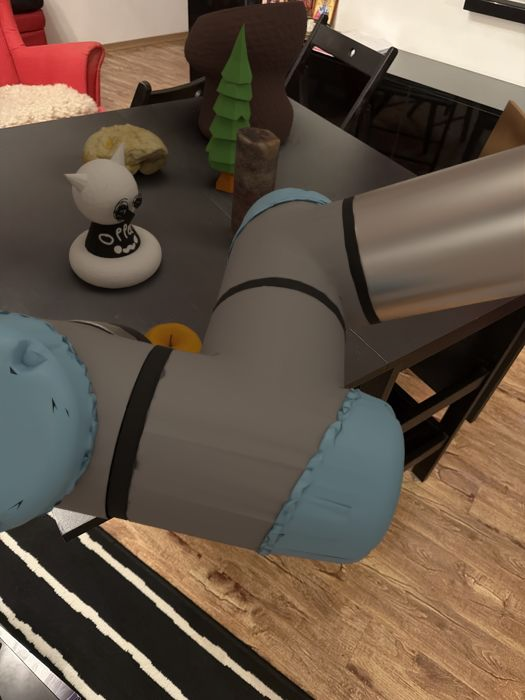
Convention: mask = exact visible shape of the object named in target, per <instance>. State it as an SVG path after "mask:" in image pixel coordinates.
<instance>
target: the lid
mask: <svg viewBox="0 0 525 700" xmlns="http://www.w3.org/2000/svg"><path fill="white" fill-rule="evenodd" d="M493 127H494V128H493V129H492V131H491V133H490V134H489V136H488V139H487V140H486V142H485V143H484V146H483V148H482V150H481V151H480V153H479V155H478V157H477V159H479V158H482V157H486V156H489V155H492V154H496V153H499V152H502V151H506V150H509V149H512V148H516V147H519V146H522V145H525V112H524V111H523V109H522V108H520V106H519V105H518V104H517V103H516V101H514V100H512V99H509V100H508V101H507V103H506V105H505V107H504V108H503V110H502V113H501V114H500V116H499V118H498V119H497V121H496V124H495V125H494V126H493Z"/></svg>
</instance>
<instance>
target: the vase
mask: <svg viewBox="0 0 525 700" xmlns="http://www.w3.org/2000/svg"><path fill="white" fill-rule="evenodd" d="M307 11H308V10H307V7H306V4H305V1H304V0H292V1H290V0H289V1H278V2H275V1H274V2H266V3H256V4H249V5H242V6H235V7H230V8H224V9H219V10H216V11H211V12H209V13H208V12H207V13H205V14H201V15H200V16H198V17H197V19H196V20H195V21H194V24H193V25H192V26H191V29H190V30H189V32H188V35H187V36H186V39H185V42H184V47H183V54H184V58H185V61H186V63H188V64H189V65H190V66H191V68H192V69H194V70H195V71H197V72H198V73H200V74H201V75H203V76H204V87H203V94H202V100H201V106H200V110H199V114H198V118H197V122H198V128H199V130H200V132H201V134H202V135H203V136H204V137H205V138H206V139H207V140H209V141H210V139H211V137H212V133H211V132H210V130H209V128H210V126H211V124H212V122H213V120H214V118H215V116H216V112H215V111H214V110H213V107H214V105H215V103H216V100H217V98H218V96H219V94H220V93H219V92H217V89H218V86H219V84H220V82H221V79H222V77H223V76H222V74H221V73H222V71H223V69H224V68H225V66H226V64H227V62H228V60H229V58H230V56H231V53H232V51H233V48H234V45H235V43H236V40H237V37H238V35H239V33H240V31H241V28H242V26H243V24H244V30H245V42H246V50H247V57H248V62H249V65H250V69H251V73H252V81H251V89H252V98H251V100H250V101H249V106H250V113H251V115H250V118H249V124H250V127H252V128H259V129H265V130H269V131H270V132H272V133H273V134H274V135H275V136H276V137H277V138H279V140H280V146H282V145H283V144H284V143H285V142H286V141H287V139H288V138H289V136H290V133H291V130H292V127H293V123H294V118H295V117H294V116H295V111H294V108H293V107H294V106H293V104H292V103H291V100H290V99H289V97H288V94H287V92H286V85H285V84H286V77H287V75H288V73H289V71H290V69H291V68H292V67H293V66H294V64H295V62H296V61H297V59H298V57H299V56H300V53H301V51H302V48H303V46H304V43H305V39H306V36H307V32H308V19H309V18H308V12H307Z"/></svg>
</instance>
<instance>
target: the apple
mask: <svg viewBox="0 0 525 700" xmlns="http://www.w3.org/2000/svg"><path fill="white" fill-rule="evenodd" d="M144 336H145V337H146V338H148V339H149V340H150V341H151V343H152V344H153V345H161V346H165V347H169V348H173V349H177V350H180V351H185V352H190V353H197V354H199V353H200V350H201V347H202V344H203V342H202V341H201V339H200V337H199V335H198V334H197V333H196V332H195V331H194V330H192V328H190V327H188V326H187V325H184V324H182V323H179V322H168V323H167V322H166V323H161V324H157V325H155V326H153V327H151V328H150V329H149V330H148V331H147V332H146V333H145V334H144Z"/></svg>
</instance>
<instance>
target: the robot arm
mask: <svg viewBox="0 0 525 700" xmlns="http://www.w3.org/2000/svg"><path fill="white" fill-rule="evenodd" d="M226 260H227V261H226V267H225V269H224V274H223V277H222V281H221V284H220V288H219V291H218V295H217V298H216V301H215V305H214V307H213V310H212V312H211V317H210V319H209V322H208V325H207V329H206V332H205V334H204V338H203V340H202V347H201V350H200V353H199V354H197V353H190V352H185V351H180V350H177V349H173V348H169V347H165V346H161V345H153V344H152V343H151V341H150V340H149V339H148V338H146V337H145V334H143V333H141V332H140V331H138V330H137V329H135V328H132V327H130V326H126V325H125V324H118V323H109V322H108V323H107V322H104V321H94V320H83V319H69V320H60V319H59V320H57V319H50V318H41V317H34V316H30V315H28V314H27V315H26V314H23V313H19V312H15V311H9V310H0V534H1V533H5V532H7V531H9V530H12V529H16V528H19V527H21V526H22V525H24V524H26V523H28V522H29V521H31V520H33V519H35V518H37V517H44V516H46V515H47V514H49V513H51V512H52V511H53V510H54V508H55V509H59V510H63V511H69V512H72V513H77V514H81V515H87V516H90V517H96V518H100V519H104V520H111V519H119V520H122V521H126V522H127V521H128V522H130V523H135V524H139V525H143V526H146V527H151V528H154V529H155V528H156V529H160V530H164V531H168V532H172V533H177V534H181V535H184V536H185V535H186V536H190V537H192V538H193V537H194V538H197V539H198V538H199V539H202V540H206V541H211V542H215V543H219V544H224V545H227V546H232V547H236V548H240V549H245V550H248V551H254V552H257V555H260V556H264V557H268V556H270V555H277V556H283V557H291V558H297V559H304V560H310V561H318V562H325V563H332V564H339V565H352V564H356V563H359V562H361V561H362V560H364V559H366V557H368V556H369V555H370V554H371V552H372V551H373V550H375V549H376V548H377V547H378V546H379V545H380V544H381V543H382V542H383V540H384V539H385V536H386V534H387V533H388V531H389V529H390V526H391V525H392V522H393V520H394V517H395V513H396V512H397V508H398V505H399V501H400V496H401V491H402V486H403V481H404V474H405V473H404V472H405V438H404V432H403V428H402V425H401V423H400V421H399V420H398V419H397V417H396V413H395V412H394V409H393V407H392V405H390V404H389V403H388V402H386V401H384V400H383V399H380V398H378V397H375V396H372V395H370V394H367V393H365V392H363V391H361V390H360V388H356V389H355V388H352V387H351V388H347V387H345V370H346V369H345V368H346V366H345V360H346V340H347V330H352V329H358V328H362V327H368V326H371V325H378V324H381V323H383V322H388V321H392V320H398V319H404V318H408V317H413V316H418V315H423V314H429V313H434V312H440V311H444V310H448V309H454V308H459V307H460V308H461V307H464V306H470V305H475V304H479V303H480V304H481V303H485V302H491V301H495V300H501V299H507V298H512V297H515V296H522V295H525V145H522V146H519V147H516V148H512V149H509V150H506V151H502V152H499V153H496V154H492V155H489V156H486V157H482V158H479V159H478V158H476V159H473V160H469V161H466V162H462V163H460V164H456V165H452V166H450V167H445V168H442V169H439V170H436V171H432V172H430V173H426V174H423V175H419V176H416V177H412V178H409V179H406V180H402V181H399V182H396V183H393V184H389V185H386V186H383V187H380V188H376V189H372V190H369V191H366V192H363V193H359V194H356V195H352V196H349V197H345V198H342V199H339V200H335V201H332V200H330V199H329V198H328V197H327V196H325V195H323V194H321V193H319V192H317V191H315V190H310V189H309V190H308V189H304V188H295V187H284V188H279V189H276V190H274V191H273V192H271V193H269V194H267V195H265V196H263V197H262V198H260V199H259V200H258V201H257V202H256V203H255V204H253V206H252V207H251V208H250V209H249V211H248V212H247V214H246V215H245V217H244V219H243V222H242V224H241V226H240V228H239V229H238V231H237V233H236V234H235V236H234V239H233V241H231V243H230V247H229V250H228V252H227V257H226Z"/></svg>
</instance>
